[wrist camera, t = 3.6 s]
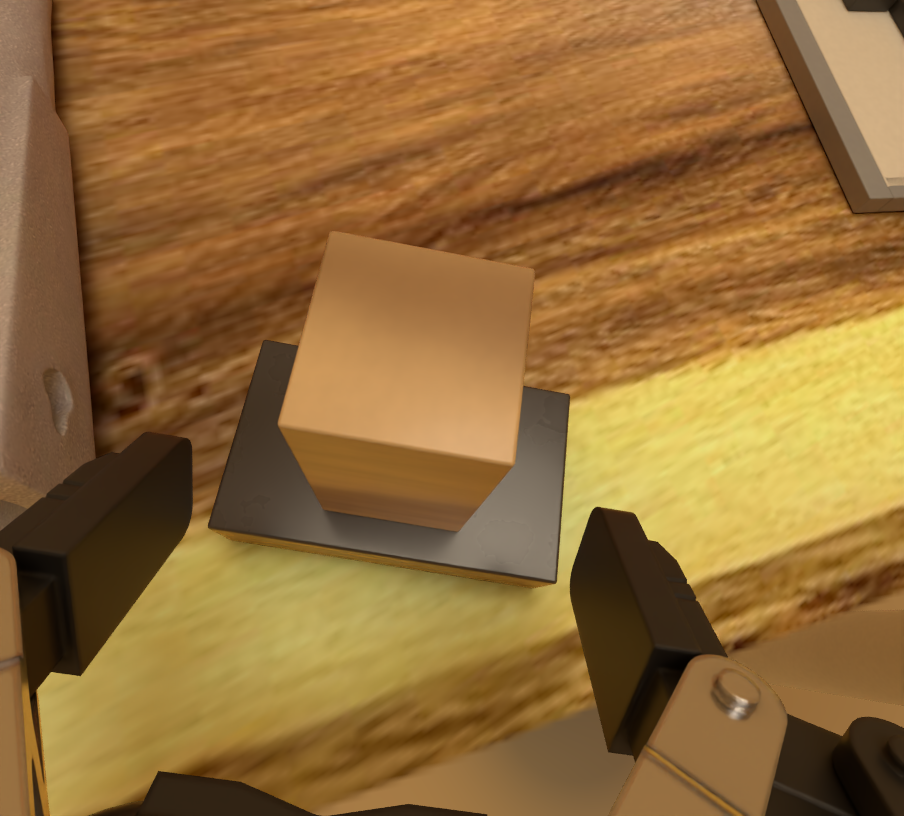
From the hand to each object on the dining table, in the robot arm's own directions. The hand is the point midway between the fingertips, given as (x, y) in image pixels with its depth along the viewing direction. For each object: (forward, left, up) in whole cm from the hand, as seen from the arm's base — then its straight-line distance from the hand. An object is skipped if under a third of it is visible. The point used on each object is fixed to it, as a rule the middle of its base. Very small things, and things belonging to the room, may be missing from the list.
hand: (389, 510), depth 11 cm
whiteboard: (+23, -28, -8) cm, 36 cm away
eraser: (+3, -1, -8) cm, 8 cm away
